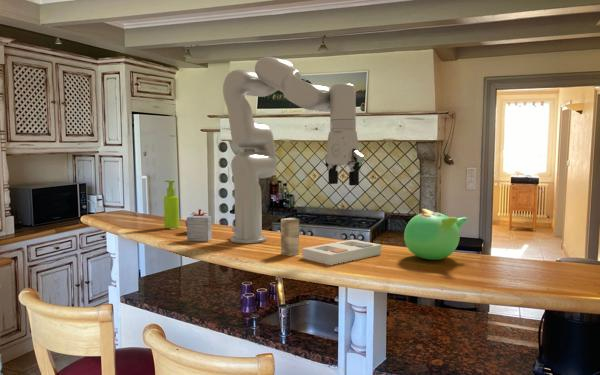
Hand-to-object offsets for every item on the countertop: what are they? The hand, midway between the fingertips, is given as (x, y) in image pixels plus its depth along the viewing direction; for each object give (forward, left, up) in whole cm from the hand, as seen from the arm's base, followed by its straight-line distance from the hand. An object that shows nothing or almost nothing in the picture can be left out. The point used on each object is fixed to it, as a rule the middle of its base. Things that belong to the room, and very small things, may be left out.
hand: (343, 184), depth 142 cm
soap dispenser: (-86, -14, -22) cm, 90 cm away
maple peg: (-14, -9, -22) cm, 28 cm away
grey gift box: (-53, -19, -22) cm, 61 cm away
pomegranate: (-68, -11, -22) cm, 73 cm away
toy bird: (+19, +19, -22) cm, 35 cm away
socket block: (-1, +1, -22) cm, 22 cm away
